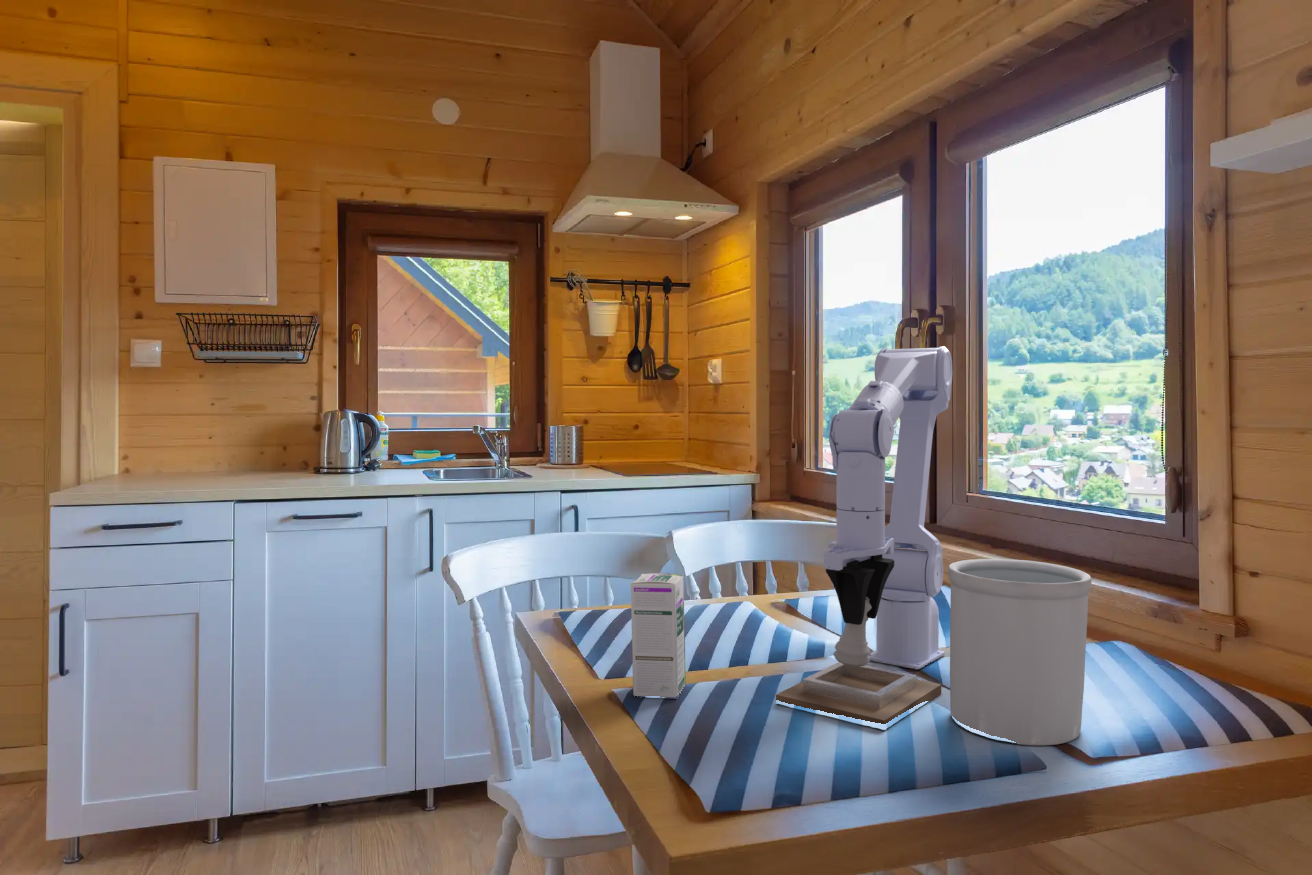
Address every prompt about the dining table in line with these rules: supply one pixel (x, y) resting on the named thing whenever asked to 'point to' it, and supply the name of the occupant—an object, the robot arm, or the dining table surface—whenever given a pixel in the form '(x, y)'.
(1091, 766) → the dining table surface
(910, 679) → the collar board
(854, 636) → the rook chess piece
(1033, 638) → the utensil holder
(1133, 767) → the dining table surface
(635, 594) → the syrup box
